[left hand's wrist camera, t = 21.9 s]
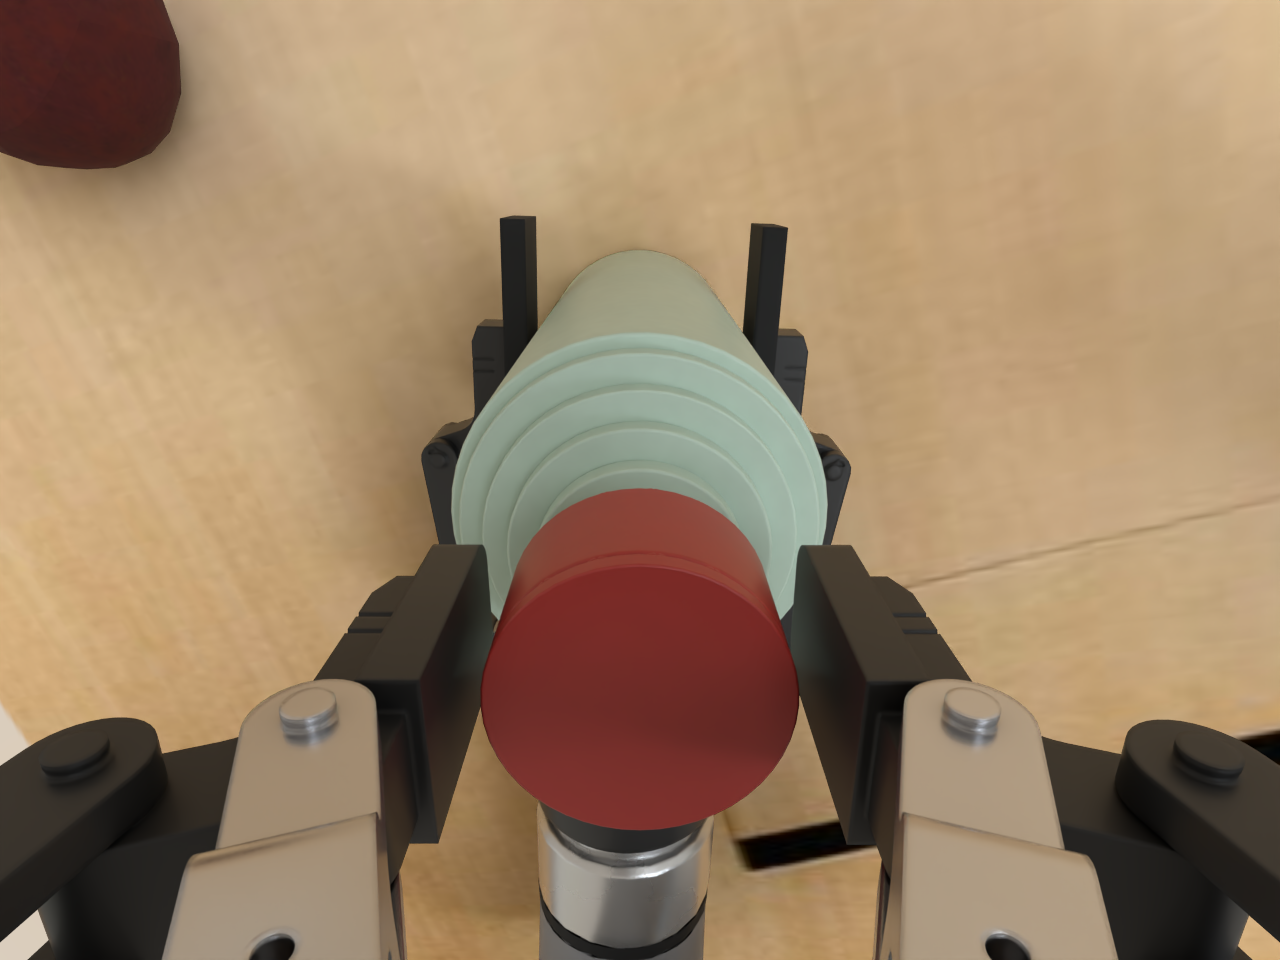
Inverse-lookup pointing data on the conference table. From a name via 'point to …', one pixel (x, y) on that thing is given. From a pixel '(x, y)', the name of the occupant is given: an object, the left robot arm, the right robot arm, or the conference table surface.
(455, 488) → the bottle
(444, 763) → the left robot arm
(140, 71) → the potato
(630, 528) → the cap
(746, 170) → the conference table surface
